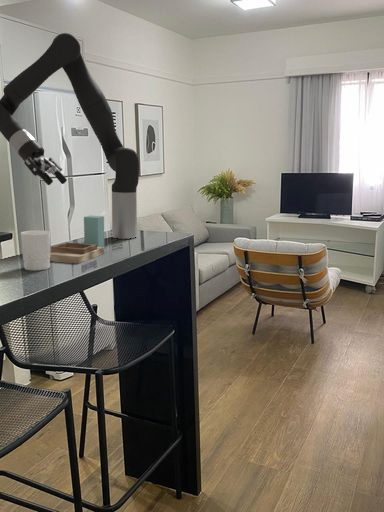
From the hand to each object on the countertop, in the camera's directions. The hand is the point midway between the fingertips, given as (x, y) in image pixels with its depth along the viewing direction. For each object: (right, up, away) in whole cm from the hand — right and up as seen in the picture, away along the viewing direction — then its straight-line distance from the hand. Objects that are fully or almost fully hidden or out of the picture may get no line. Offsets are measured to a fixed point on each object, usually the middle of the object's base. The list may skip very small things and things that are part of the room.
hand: (58, 182), depth 168 cm
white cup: (+1, -28, -27) cm, 39 cm away
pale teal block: (+12, -22, +1) cm, 25 cm away
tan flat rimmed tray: (+8, -24, -11) cm, 28 cm away
